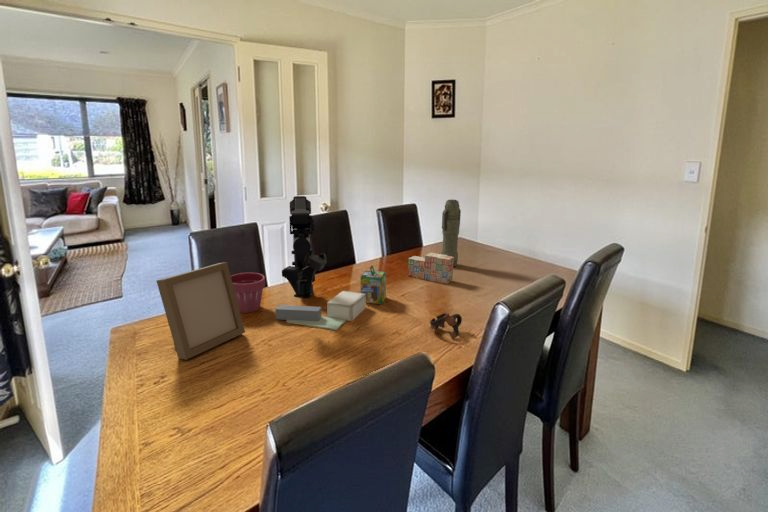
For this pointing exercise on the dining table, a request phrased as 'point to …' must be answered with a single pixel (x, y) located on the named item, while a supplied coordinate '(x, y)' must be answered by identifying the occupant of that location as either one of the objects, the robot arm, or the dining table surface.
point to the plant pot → (248, 290)
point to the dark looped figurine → (449, 319)
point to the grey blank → (298, 313)
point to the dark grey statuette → (451, 229)
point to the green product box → (374, 286)
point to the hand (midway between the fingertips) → (303, 289)
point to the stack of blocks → (432, 267)
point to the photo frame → (201, 309)
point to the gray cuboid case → (346, 305)
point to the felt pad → (321, 323)
